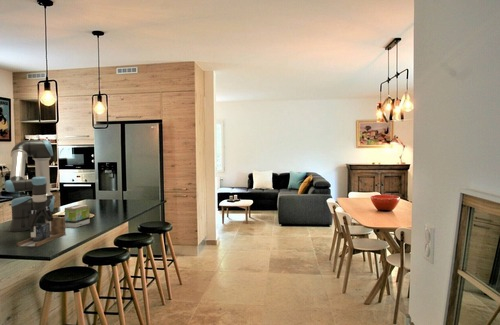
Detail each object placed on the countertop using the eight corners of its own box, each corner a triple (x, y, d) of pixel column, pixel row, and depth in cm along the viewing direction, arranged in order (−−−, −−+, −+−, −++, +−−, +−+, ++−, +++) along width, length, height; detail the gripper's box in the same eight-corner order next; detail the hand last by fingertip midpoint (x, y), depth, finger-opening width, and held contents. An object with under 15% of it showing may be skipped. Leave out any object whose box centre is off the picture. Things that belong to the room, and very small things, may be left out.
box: (32, 241, 201) (31, 225, 201) (37, 239, 207) (36, 222, 206) (45, 241, 202) (45, 224, 202) (50, 238, 208) (49, 222, 207)
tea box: (76, 228, 235) (75, 208, 234) (64, 227, 237) (63, 207, 236) (90, 223, 250) (89, 204, 249) (79, 222, 252) (78, 204, 251)
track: (17, 246, 193) (16, 226, 193) (47, 234, 219) (46, 216, 218) (37, 246, 192) (36, 226, 192) (65, 234, 218) (64, 217, 217)
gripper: (30, 204, 191) (32, 239, 192) (58, 197, 215) (60, 228, 217) (18, 204, 191) (20, 239, 192) (48, 197, 216) (49, 228, 217)
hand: (41, 234), depth 204 cm, fingers open, 13 cm apart
